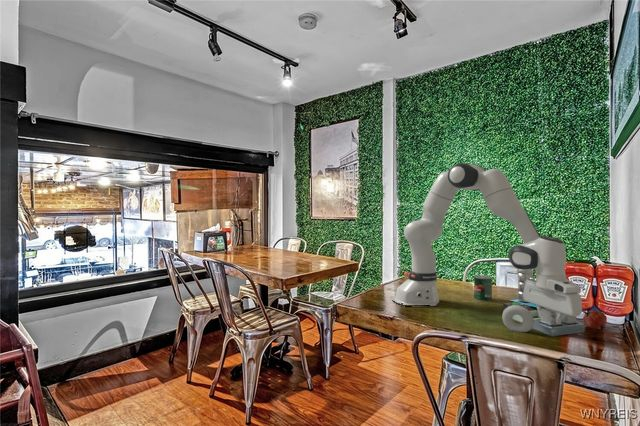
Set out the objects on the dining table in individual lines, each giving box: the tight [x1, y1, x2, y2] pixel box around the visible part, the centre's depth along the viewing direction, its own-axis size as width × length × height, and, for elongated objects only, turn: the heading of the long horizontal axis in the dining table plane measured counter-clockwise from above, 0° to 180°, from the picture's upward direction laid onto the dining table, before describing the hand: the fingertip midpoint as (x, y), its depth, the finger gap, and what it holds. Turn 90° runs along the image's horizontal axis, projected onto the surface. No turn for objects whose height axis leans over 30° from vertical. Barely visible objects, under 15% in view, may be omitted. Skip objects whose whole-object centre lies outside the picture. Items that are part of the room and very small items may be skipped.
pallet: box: [532, 321, 586, 337], centre depth 123 cm, size 15×8×4 cm, turn 105°
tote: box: [512, 309, 541, 323], centre depth 133 cm, size 13×9×3 cm
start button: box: [512, 301, 522, 306], centre depth 143 cm, size 3×3×3 cm
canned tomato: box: [473, 274, 493, 302], centre depth 166 cm, size 8×8×11 cm
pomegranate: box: [582, 309, 608, 330], centre depth 126 cm, size 7×7×10 cm
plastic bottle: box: [516, 268, 534, 303], centre depth 162 cm, size 6×7×20 cm
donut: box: [501, 305, 535, 333], centre depth 123 cm, size 10×4×10 cm, turn 53°
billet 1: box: [541, 307, 560, 327], centre depth 122 cm, size 4×4×7 cm
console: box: [502, 301, 531, 311], centre depth 143 cm, size 7×7×4 cm
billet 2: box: [561, 314, 577, 325], centre depth 124 cm, size 4×4×7 cm
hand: (549, 320), depth 122 cm, fingers open, 4 cm apart
